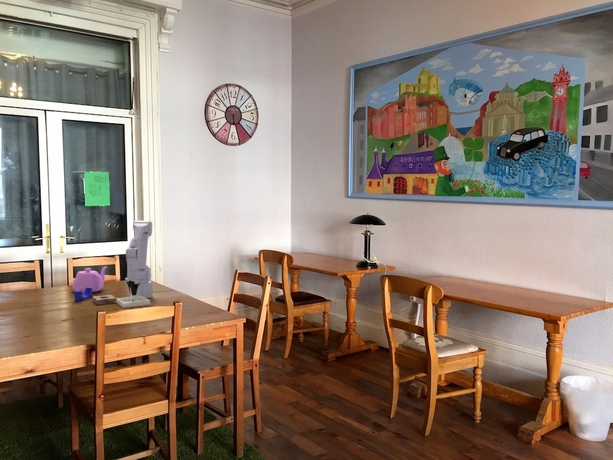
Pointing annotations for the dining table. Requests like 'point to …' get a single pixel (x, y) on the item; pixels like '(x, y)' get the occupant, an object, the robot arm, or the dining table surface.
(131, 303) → the tray
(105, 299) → the square hole board
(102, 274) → the teapot
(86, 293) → the cable clip
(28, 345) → the dining table surface
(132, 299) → the steel pin
